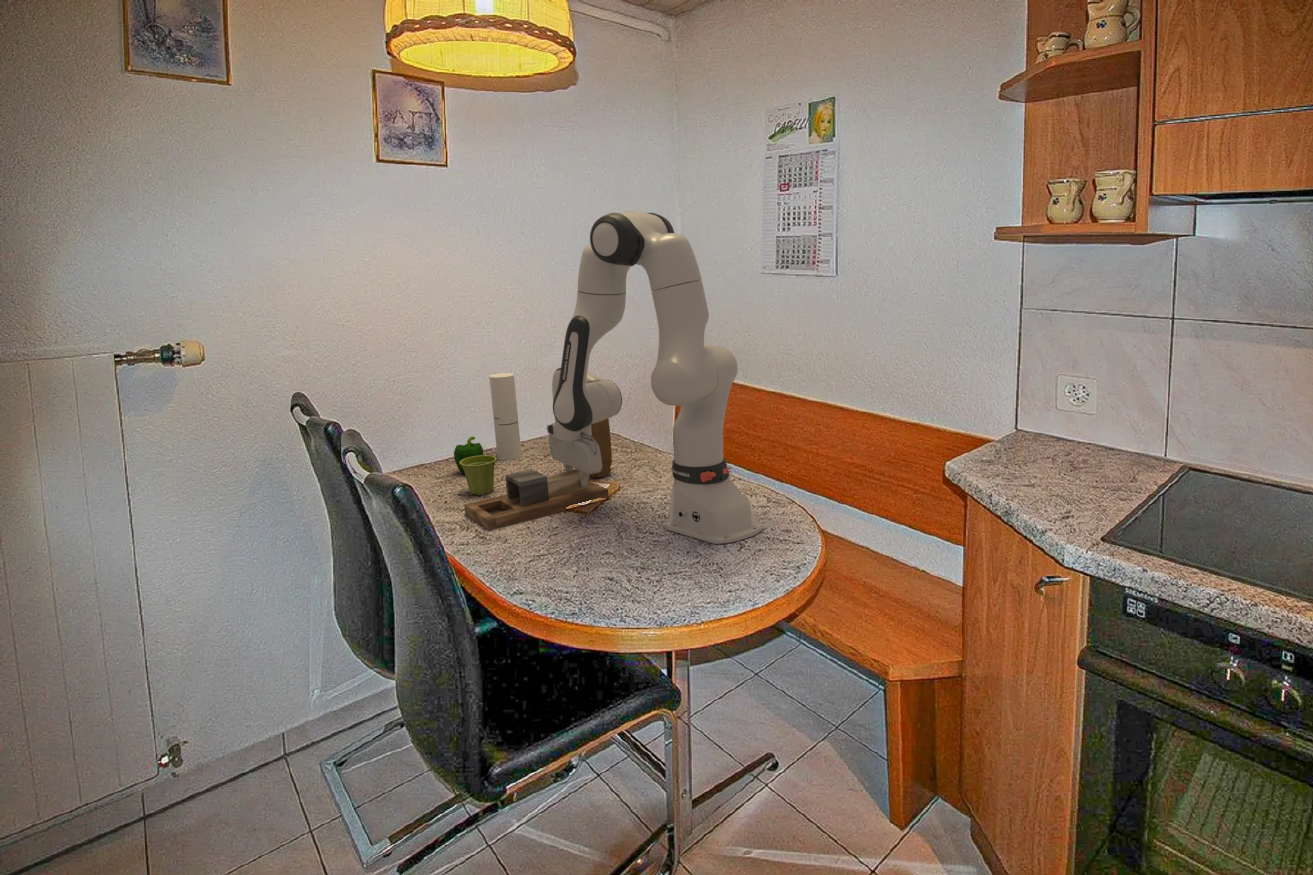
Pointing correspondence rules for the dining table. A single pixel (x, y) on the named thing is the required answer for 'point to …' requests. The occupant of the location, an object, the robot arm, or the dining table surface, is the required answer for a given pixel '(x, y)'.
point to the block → (603, 446)
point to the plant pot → (479, 473)
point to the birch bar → (565, 483)
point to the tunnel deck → (527, 500)
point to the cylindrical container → (505, 416)
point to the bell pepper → (467, 452)
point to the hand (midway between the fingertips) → (577, 482)
